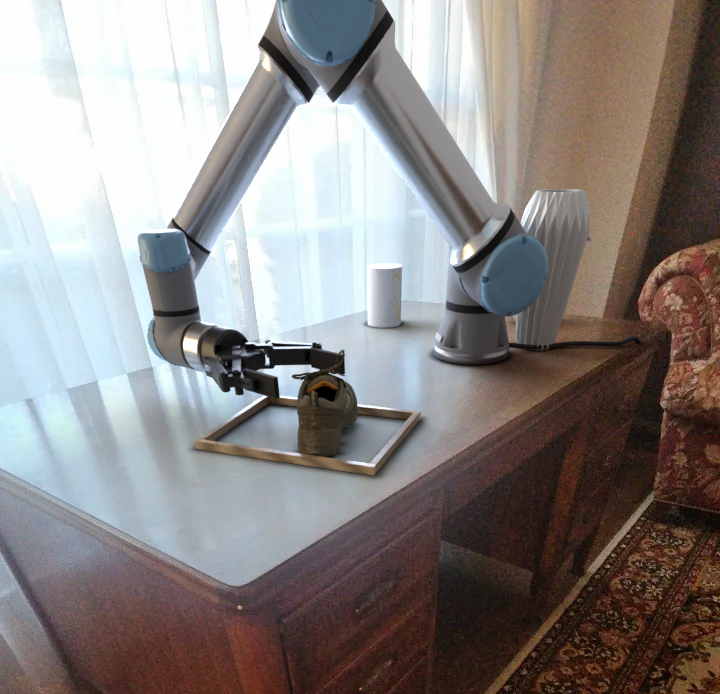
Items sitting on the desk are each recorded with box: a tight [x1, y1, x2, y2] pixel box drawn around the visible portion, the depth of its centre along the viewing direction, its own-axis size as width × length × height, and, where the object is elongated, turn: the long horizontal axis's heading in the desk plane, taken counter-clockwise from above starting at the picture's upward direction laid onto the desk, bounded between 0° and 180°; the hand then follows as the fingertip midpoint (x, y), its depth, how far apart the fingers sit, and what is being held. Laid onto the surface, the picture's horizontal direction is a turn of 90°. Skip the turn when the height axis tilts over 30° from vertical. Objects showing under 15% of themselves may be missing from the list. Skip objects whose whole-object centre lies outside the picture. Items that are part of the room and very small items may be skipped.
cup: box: [366, 262, 403, 329], centre depth 137 cm, size 8×8×12 cm
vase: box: [514, 188, 591, 351], centre depth 114 cm, size 13×13×26 cm
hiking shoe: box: [291, 349, 358, 457], centre depth 83 cm, size 8×20×12 cm, turn 172°
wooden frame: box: [193, 395, 422, 477], centre depth 88 cm, size 28×22×1 cm
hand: (311, 375), depth 82 cm, fingers open, 13 cm apart
